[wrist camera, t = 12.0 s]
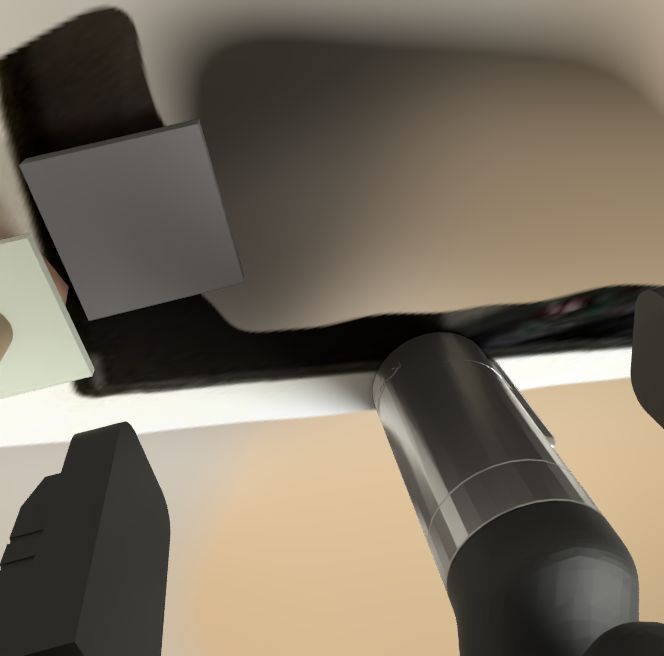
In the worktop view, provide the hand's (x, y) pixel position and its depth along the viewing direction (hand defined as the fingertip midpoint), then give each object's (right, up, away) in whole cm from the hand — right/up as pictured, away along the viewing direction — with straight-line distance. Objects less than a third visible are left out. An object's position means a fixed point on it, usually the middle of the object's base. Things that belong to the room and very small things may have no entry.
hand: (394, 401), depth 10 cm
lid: (-21, +1, +26) cm, 33 cm away
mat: (-13, +8, +28) cm, 32 cm away
